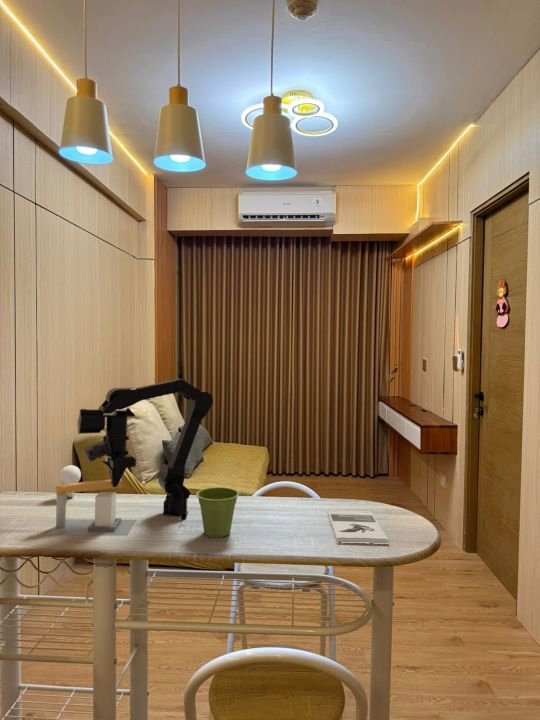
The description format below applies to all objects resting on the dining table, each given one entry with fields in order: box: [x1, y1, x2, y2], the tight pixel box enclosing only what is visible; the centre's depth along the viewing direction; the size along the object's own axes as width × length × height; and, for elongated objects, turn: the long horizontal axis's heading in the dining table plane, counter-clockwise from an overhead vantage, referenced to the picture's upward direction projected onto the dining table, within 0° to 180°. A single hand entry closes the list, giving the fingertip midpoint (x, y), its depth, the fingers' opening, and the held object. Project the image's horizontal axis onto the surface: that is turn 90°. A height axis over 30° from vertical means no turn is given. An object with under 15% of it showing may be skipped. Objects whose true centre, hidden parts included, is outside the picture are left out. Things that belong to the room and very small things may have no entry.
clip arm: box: [55, 478, 123, 495], centre depth 133 cm, size 18×3×2 cm, turn 120°
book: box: [326, 509, 389, 544], centre depth 137 cm, size 23×14×2 cm, turn 179°
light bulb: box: [59, 464, 82, 499], centre depth 159 cm, size 7×7×11 cm
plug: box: [94, 491, 117, 526], centre depth 130 cm, size 4×4×9 cm
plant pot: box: [195, 486, 240, 538], centre depth 130 cm, size 12×12×11 cm
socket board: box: [46, 493, 138, 536], centre depth 130 cm, size 21×12×10 cm, turn 94°
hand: (114, 486), depth 134 cm, fingers closed
